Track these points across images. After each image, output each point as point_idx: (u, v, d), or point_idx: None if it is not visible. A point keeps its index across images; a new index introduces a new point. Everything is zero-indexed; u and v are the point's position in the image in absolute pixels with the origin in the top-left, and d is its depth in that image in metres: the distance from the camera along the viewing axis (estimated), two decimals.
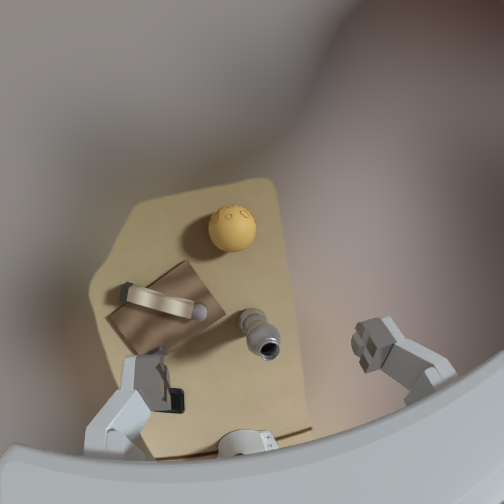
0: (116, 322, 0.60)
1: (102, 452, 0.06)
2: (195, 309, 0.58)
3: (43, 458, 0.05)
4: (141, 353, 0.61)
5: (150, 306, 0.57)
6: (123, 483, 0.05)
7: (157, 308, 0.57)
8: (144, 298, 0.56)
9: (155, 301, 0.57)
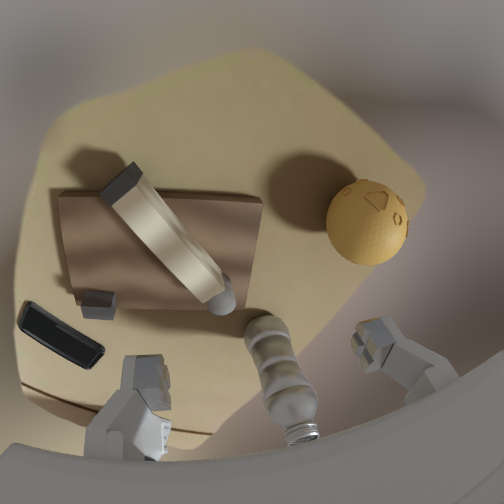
0: (64, 214, 0.26)
1: (102, 452, 0.06)
2: (222, 296, 0.31)
3: (43, 458, 0.05)
4: (76, 284, 0.31)
5: (150, 245, 0.26)
6: (123, 483, 0.05)
7: (161, 256, 0.27)
8: (148, 225, 0.25)
9: (167, 244, 0.26)
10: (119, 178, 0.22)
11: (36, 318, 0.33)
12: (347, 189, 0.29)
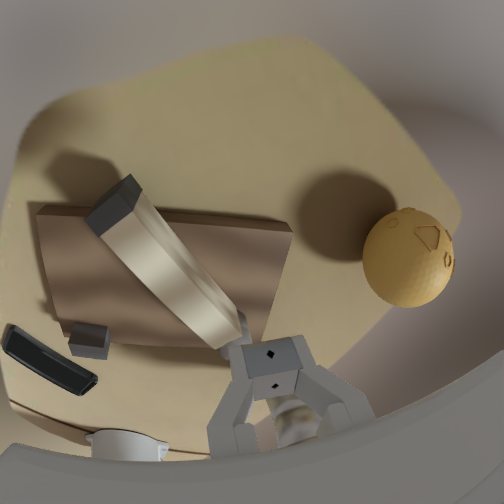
0: (44, 236, 0.20)
1: (234, 449, 0.07)
2: (238, 342, 0.25)
3: (43, 458, 0.05)
4: (62, 315, 0.25)
5: (152, 286, 0.20)
6: (123, 483, 0.05)
7: (165, 299, 0.21)
8: (149, 263, 0.19)
9: (173, 285, 0.20)
10: (110, 201, 0.16)
11: (21, 343, 0.27)
12: (393, 220, 0.24)
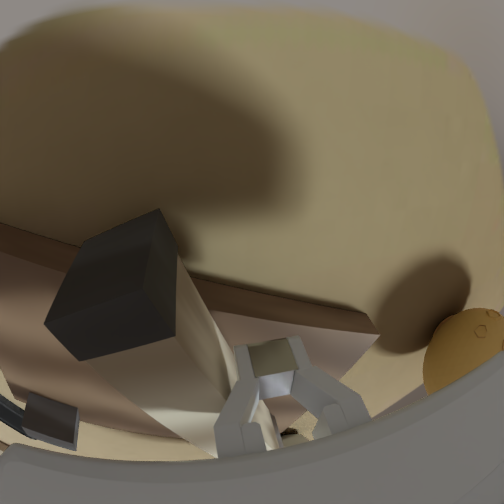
0: None
1: (241, 448, 0.07)
2: None
3: (43, 458, 0.05)
4: (12, 380, 0.13)
5: (177, 429, 0.10)
6: (123, 483, 0.05)
7: (194, 440, 0.10)
8: (184, 407, 0.09)
9: None
10: (116, 304, 0.06)
11: None
12: (481, 327, 0.16)
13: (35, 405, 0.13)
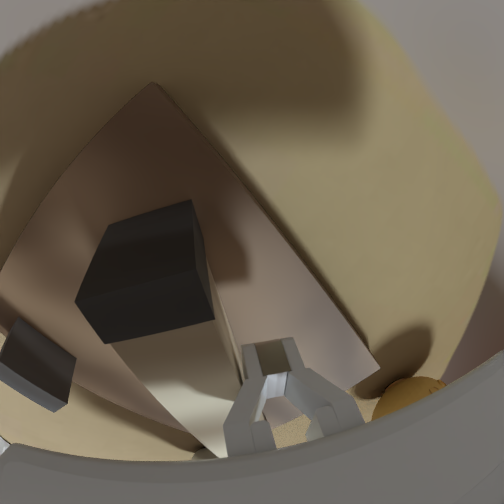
0: (116, 139, 0.08)
1: (250, 446, 0.07)
2: None
3: (43, 458, 0.05)
4: (6, 292, 0.10)
5: (186, 420, 0.10)
6: (123, 483, 0.05)
7: (198, 433, 0.11)
8: (200, 397, 0.09)
9: (223, 422, 0.10)
10: (164, 283, 0.06)
11: None
12: (434, 388, 0.21)
13: (23, 337, 0.10)
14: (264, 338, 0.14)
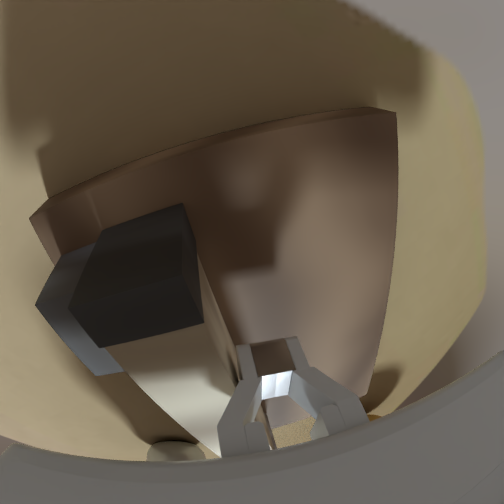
0: (356, 133, 0.10)
1: (244, 447, 0.07)
2: None
3: (43, 458, 0.05)
4: (108, 204, 0.09)
5: (183, 420, 0.10)
6: (123, 483, 0.05)
7: (197, 432, 0.11)
8: (196, 398, 0.09)
9: None
10: (152, 289, 0.06)
11: None
12: None
13: None
14: (329, 339, 0.16)
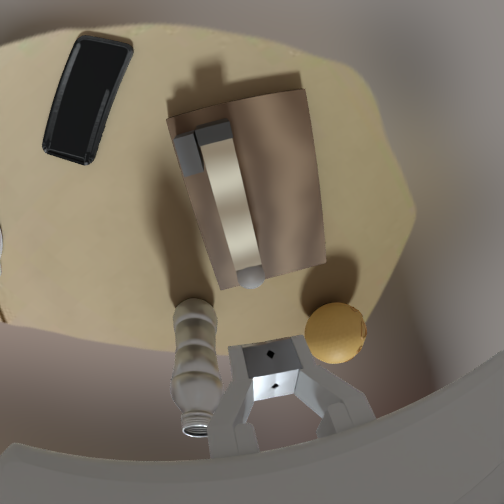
0: (287, 97, 0.27)
1: (233, 449, 0.07)
2: (256, 269, 0.33)
3: (43, 458, 0.05)
4: (200, 116, 0.27)
5: (217, 197, 0.27)
6: (123, 483, 0.05)
7: (221, 211, 0.28)
8: (225, 178, 0.27)
9: (233, 202, 0.28)
10: (221, 125, 0.24)
11: (108, 61, 0.23)
12: (354, 308, 0.41)
13: (195, 137, 0.27)
14: (289, 194, 0.33)
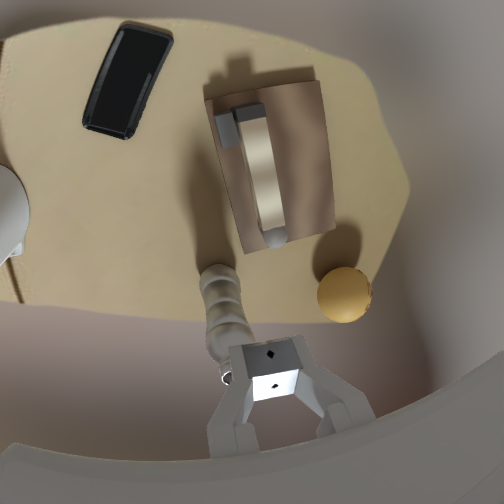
0: (305, 86, 0.32)
1: (233, 449, 0.07)
2: (280, 230, 0.38)
3: (43, 458, 0.05)
4: (234, 99, 0.31)
5: (252, 166, 0.32)
6: (123, 483, 0.05)
7: (254, 178, 0.33)
8: (259, 150, 0.31)
9: (264, 170, 0.33)
10: (257, 105, 0.28)
11: (151, 48, 0.27)
12: (360, 271, 0.47)
13: None
14: (305, 167, 0.38)
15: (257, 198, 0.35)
